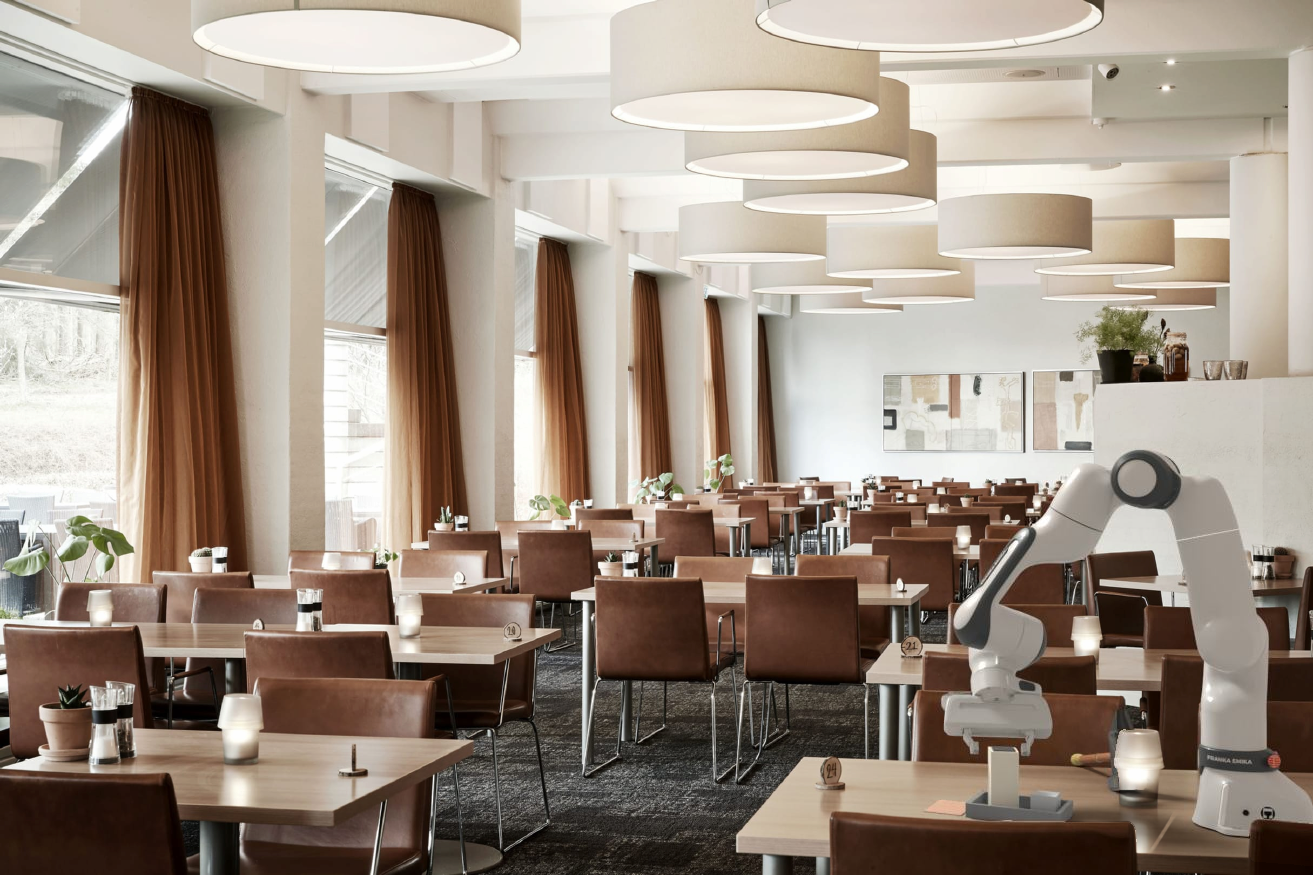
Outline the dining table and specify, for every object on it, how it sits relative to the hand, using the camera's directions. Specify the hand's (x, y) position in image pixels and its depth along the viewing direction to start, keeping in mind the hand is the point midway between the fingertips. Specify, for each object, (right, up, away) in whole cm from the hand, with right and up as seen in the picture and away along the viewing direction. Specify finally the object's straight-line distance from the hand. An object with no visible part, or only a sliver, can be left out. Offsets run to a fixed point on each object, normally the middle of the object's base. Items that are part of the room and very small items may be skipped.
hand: (1000, 753), depth 264 cm
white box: (-1, -10, -5) cm, 11 cm away
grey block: (+6, -10, -8) cm, 14 cm away
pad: (-9, -11, 0) cm, 14 cm away
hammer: (+29, -12, +30) cm, 43 cm away
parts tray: (+2, -11, -6) cm, 12 cm away
